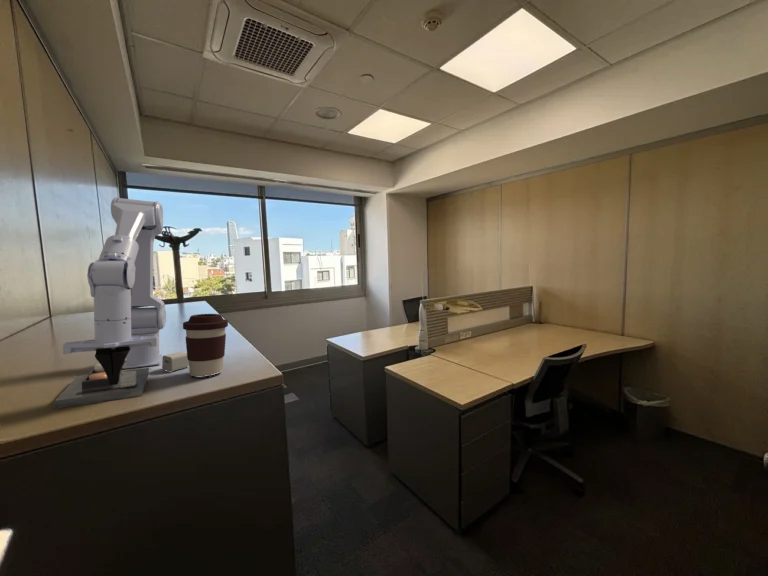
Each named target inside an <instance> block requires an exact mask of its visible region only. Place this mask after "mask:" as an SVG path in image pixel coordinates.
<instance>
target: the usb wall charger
mask: <svg viewBox="0 0 768 576" xmlns="http://www.w3.org/2000/svg"><path fill="white" fill-rule="evenodd" d="M161 364H162V365H161V366H162V367H161V368H162V370H163V371H164V370H167V371H166V372H168V371H174V372H176V371H175V370H178V369H181V368H184V367H187V366H189V360H188V359H187V352H185V351H184V352H183V351H178V352H174V353H169V354H164V355H162V359H161ZM181 370H182V369H181ZM178 371H179V370H178Z"/></svg>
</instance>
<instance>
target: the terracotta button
mask: <svg viewBox="0 0 768 576" xmlns="http://www.w3.org/2000/svg"><path fill="white" fill-rule="evenodd" d="M103 378H107V375H106V373H105V372H101V373H95V374H92V375H90V376H89V380H95V379H103Z"/></svg>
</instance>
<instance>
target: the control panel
mask: <svg viewBox="0 0 768 576" xmlns="http://www.w3.org/2000/svg"><path fill="white" fill-rule="evenodd" d="M128 371H136V379H137V382H136V385H134V386H127V387H121V379H120V376H119V382H118V384H117V385H109V381H108V378H103V379H95V380H89V376H90V375H92V374H95V373H101V372H95V367H93V368H92V369H91V370H90V371H89V372H88V374H83V375H77V376H76V377H75V378H74V380H72V381H71V383H70V384H69V385H68V386H67V387H66V388H65V389H64V390H63V391H62V392H61V394H59V396H58V397H57V398H55V400H54V410H56V409H63V408H69V407H75V406H81V405H88V404H94V403H95V404H96V403H102V402H109V401H115V400H122V399H127V398H128V399H129V398H133V397H141V396H143V395H144V394H143V393H144V391H145V387H146V385H147V381H148V379H149V375H150V368H149V367H148V368H147V367H146V368H145V367H144V368H136V369H128V370H121V372H120V375H121V373H122V372H128Z"/></svg>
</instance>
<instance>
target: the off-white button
mask: <svg viewBox="0 0 768 576" xmlns="http://www.w3.org/2000/svg"><path fill="white" fill-rule="evenodd" d="M94 368H95V372H105V371H104V369H103V367H102V366H101V364H100V363H99V362H98V363H95V364H94Z"/></svg>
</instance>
